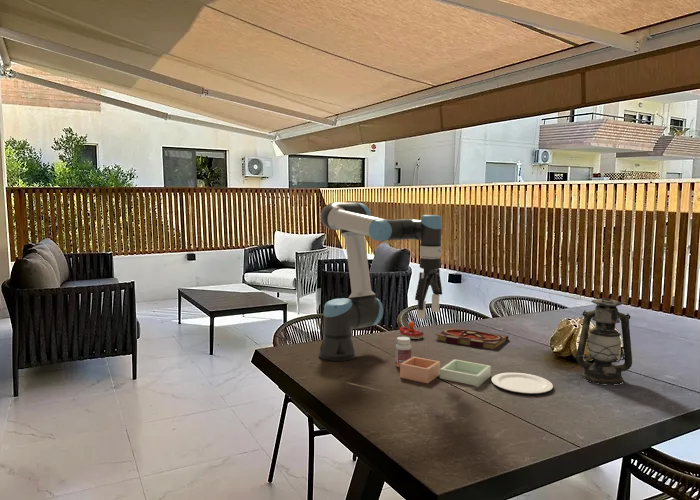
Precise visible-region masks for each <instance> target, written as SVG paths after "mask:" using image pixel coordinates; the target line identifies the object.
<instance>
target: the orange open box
mask: <svg viewBox="0 0 700 500" xmlns="http://www.w3.org/2000/svg"><path fill="white" fill-rule="evenodd" d="M440 369H441V361H440V360H435V359H428V358H423V357H418V356H411V358H410V359H408V360H406V361H404V362H403V363H401V364H400V367H399V378H401V379H406V380H410V381H415V382H420V383H423V384H424V383H425V384H429V383H431V382H432V381H434V379H436V378H437V377H440Z"/></svg>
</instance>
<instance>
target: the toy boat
mask: <svg viewBox="0 0 700 500" xmlns="http://www.w3.org/2000/svg"><path fill="white" fill-rule="evenodd" d="M415 326H416V325H415V323H414V322H413V321H410V322H409V323H408V327H407V326H405V325H404V326H403V325H402V326H401V327H400V328H399V335H400V337H409V338H410V340H414V339H418V340H420V339H423V337H424V335H425V334H424V331H422V330H419V329H414V328H415Z"/></svg>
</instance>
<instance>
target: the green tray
mask: <svg viewBox="0 0 700 500" xmlns="http://www.w3.org/2000/svg"><path fill="white" fill-rule="evenodd" d="M491 370H492V367H491V365H488V364H483V363H477V362H471V361H467V360H466V361H465V360H461V359H456V358H455V359H452V360H451V361H450V362H448V363H446V364H445V365H443V366H442V367H440V375H439V379H442V380H446V381H451V382H457V383H462V384H466V385H471V386H473V388H477V389H478V388H479V387H481V385H482V384H483V383H485V382H486V381H487V380H488V379H489V378H491V374H492V372H491Z"/></svg>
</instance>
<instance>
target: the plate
mask: <svg viewBox="0 0 700 500" xmlns="http://www.w3.org/2000/svg"><path fill="white" fill-rule="evenodd" d="M491 383H493V385H494V386H496V387H498V388H499V389H502V390H504V391H509V392H512V393H516V394H525V395H540V394H546V393H549V392H551V391H552V390H553V387H554V385H553V383H552V382H551V381H549V380H548V379H546V378H544V377H541V376H539V375H534V374H530V373H523V372H503V373H498V374H494V375H493V376H492V377H491Z"/></svg>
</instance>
